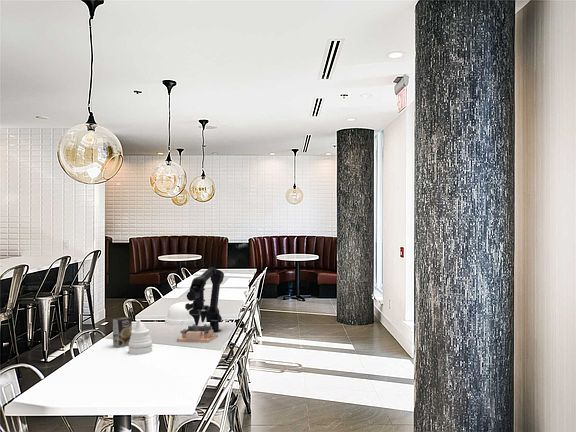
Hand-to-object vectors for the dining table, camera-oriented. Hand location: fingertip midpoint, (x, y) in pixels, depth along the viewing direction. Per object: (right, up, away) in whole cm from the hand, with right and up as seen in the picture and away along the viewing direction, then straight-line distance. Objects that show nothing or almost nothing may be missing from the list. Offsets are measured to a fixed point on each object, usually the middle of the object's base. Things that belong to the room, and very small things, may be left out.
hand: (199, 323), depth 345 cm
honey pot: (-28, -10, -32) cm, 44 cm away
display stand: (-1, -9, -4) cm, 9 cm away
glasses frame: (-1, -5, -3) cm, 6 cm away
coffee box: (-43, -10, -16) cm, 47 cm away
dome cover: (-18, -9, +55) cm, 58 cm away
